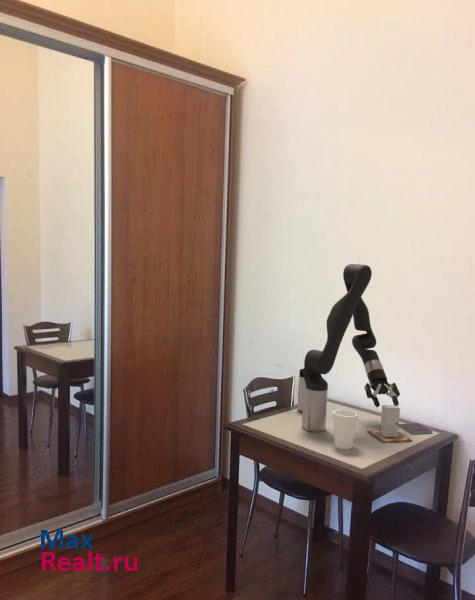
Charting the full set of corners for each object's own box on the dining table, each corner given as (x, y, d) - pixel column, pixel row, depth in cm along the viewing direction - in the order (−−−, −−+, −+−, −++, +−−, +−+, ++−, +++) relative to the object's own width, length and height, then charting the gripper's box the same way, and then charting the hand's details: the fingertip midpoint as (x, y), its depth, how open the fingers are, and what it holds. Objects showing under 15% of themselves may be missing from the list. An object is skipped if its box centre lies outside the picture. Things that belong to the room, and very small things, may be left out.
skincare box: (384, 437, 207) (386, 408, 206) (379, 433, 212) (381, 404, 211) (398, 436, 208) (400, 407, 207) (393, 433, 213) (395, 404, 212)
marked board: (383, 443, 202) (383, 441, 202) (366, 432, 214) (367, 430, 214) (412, 441, 205) (412, 439, 205) (394, 430, 218) (394, 429, 218)
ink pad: (411, 434, 213) (411, 431, 213) (398, 426, 223) (398, 423, 223) (432, 433, 216) (432, 430, 216) (418, 425, 226) (418, 422, 226)
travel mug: (312, 410, 242) (314, 368, 241) (308, 413, 236) (310, 371, 235) (300, 408, 245) (302, 367, 243) (295, 411, 239) (297, 369, 237)
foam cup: (355, 443, 200) (357, 411, 199) (355, 451, 191) (357, 418, 190) (331, 440, 202) (333, 408, 201) (330, 448, 193) (332, 415, 192)
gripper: (363, 368, 217) (375, 402, 206) (393, 367, 220) (407, 401, 210) (357, 377, 222) (368, 411, 212) (386, 377, 226) (398, 410, 215)
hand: (387, 406), depth 211 cm, fingers open, 8 cm apart
